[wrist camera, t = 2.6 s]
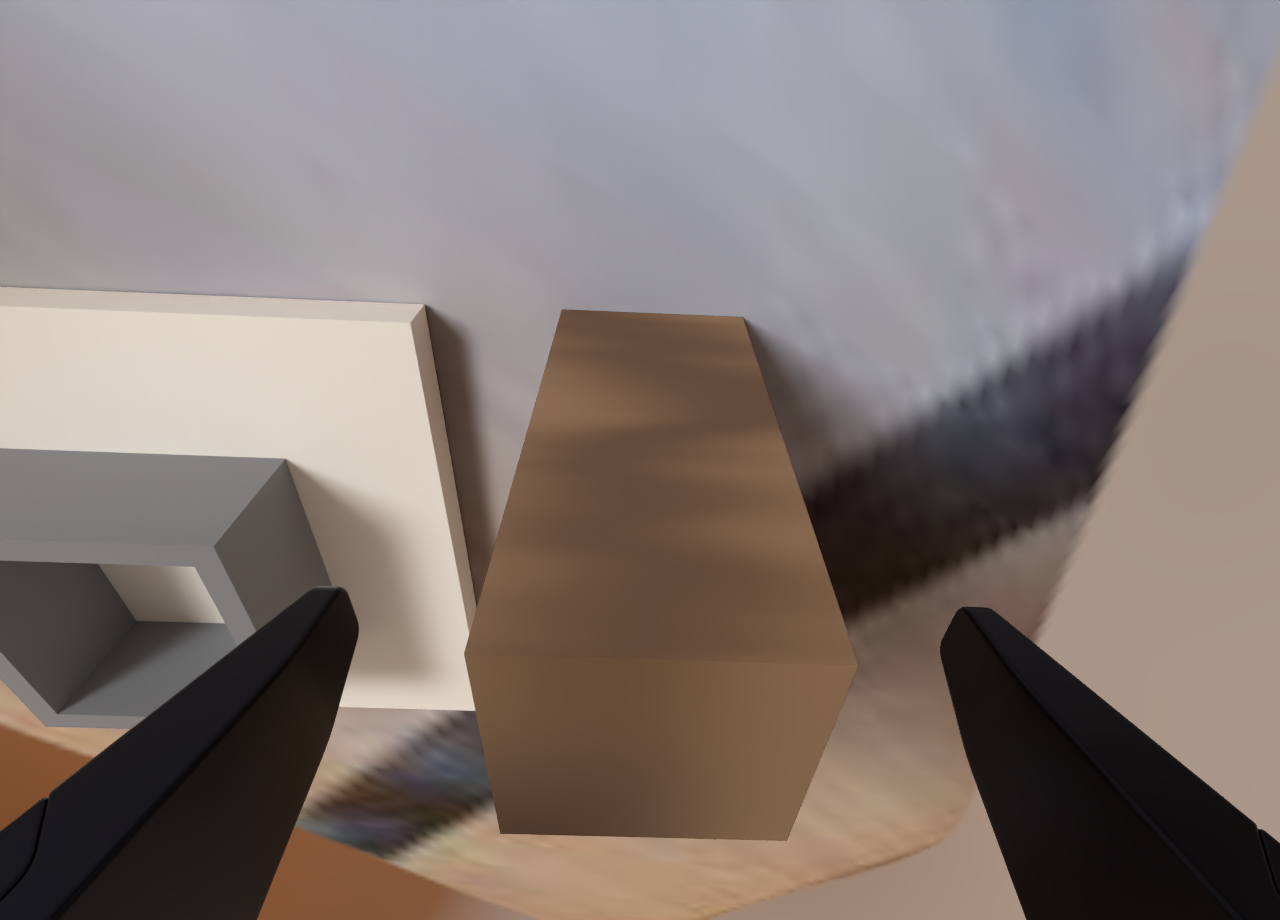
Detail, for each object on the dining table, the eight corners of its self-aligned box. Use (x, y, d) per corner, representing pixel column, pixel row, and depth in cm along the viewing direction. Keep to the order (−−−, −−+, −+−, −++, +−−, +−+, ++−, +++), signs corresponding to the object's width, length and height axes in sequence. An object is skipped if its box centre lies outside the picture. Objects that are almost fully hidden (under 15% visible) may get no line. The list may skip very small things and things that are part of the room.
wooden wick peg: (742, 317, 14) (857, 666, 6) (721, 462, 16) (786, 841, 9) (561, 309, 13) (463, 653, 6) (566, 456, 16) (500, 833, 8)
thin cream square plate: (424, 304, 13) (353, 395, 10) (489, 684, 22) (462, 802, 18) (-234, 276, 13) (-524, 361, 10) (86, 673, 21) (-15, 790, 18)
